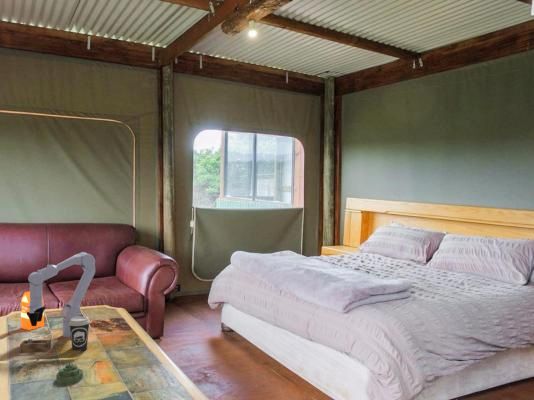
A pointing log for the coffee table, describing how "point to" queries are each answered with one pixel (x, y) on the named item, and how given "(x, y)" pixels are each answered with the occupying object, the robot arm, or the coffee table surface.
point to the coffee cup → (79, 332)
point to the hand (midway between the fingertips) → (36, 323)
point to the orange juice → (24, 309)
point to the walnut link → (35, 346)
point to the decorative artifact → (69, 374)
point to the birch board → (39, 352)
